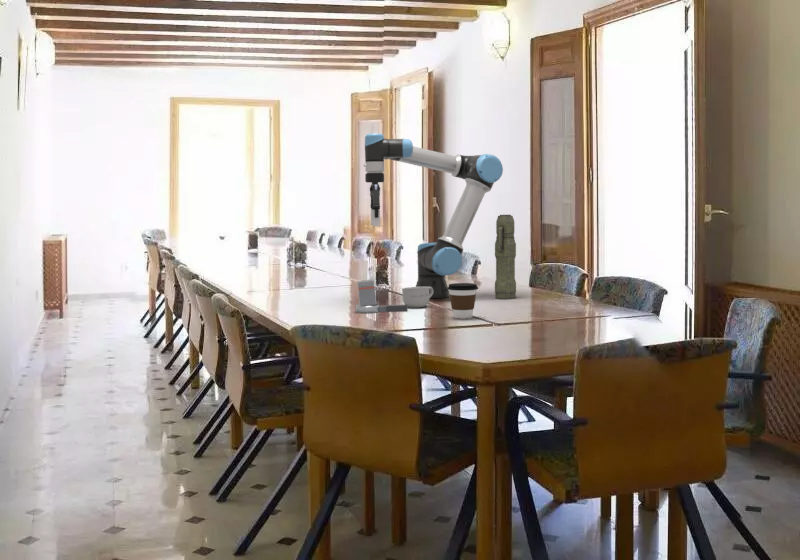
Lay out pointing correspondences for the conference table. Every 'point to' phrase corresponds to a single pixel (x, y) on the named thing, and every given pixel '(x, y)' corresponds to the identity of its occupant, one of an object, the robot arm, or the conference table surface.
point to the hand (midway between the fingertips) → (375, 225)
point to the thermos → (505, 258)
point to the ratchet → (380, 308)
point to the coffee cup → (462, 299)
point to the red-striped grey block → (366, 292)
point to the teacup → (416, 296)
